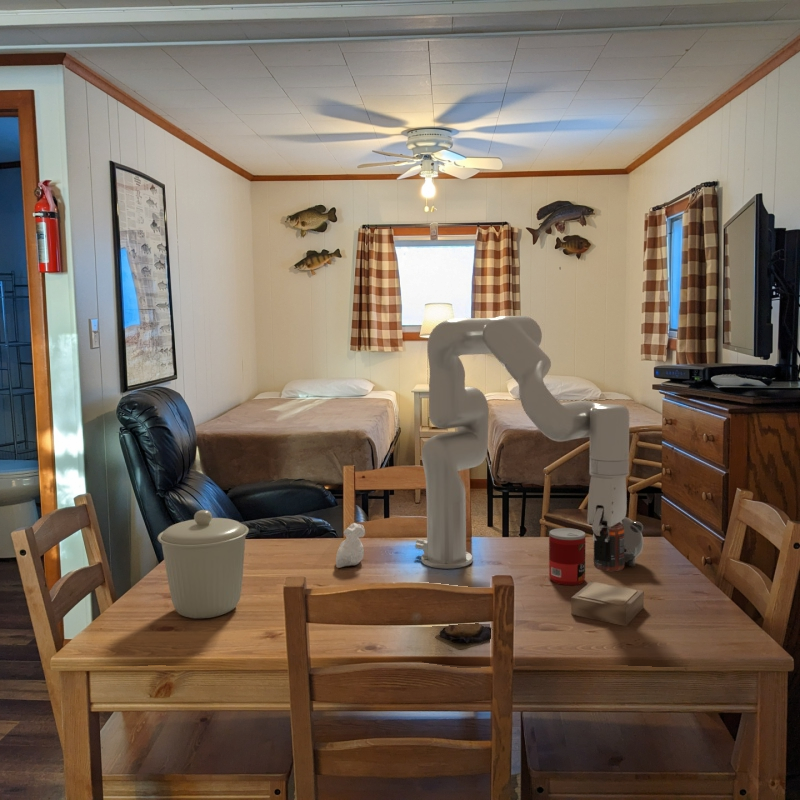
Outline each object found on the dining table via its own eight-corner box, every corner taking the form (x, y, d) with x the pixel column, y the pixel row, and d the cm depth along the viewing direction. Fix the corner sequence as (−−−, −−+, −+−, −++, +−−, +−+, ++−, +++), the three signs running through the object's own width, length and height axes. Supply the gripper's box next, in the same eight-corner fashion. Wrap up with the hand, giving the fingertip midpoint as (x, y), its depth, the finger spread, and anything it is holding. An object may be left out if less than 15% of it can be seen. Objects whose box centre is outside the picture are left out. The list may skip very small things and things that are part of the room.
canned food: (585, 586, 164) (586, 537, 163) (548, 584, 166) (549, 536, 165) (584, 575, 172) (584, 528, 171) (549, 573, 173) (549, 527, 172)
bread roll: (460, 655, 133) (460, 635, 133) (431, 639, 140) (430, 620, 139) (503, 638, 139) (503, 619, 139) (473, 624, 146) (472, 606, 146)
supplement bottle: (622, 563, 152) (622, 509, 150) (626, 573, 146) (626, 516, 145) (592, 562, 153) (592, 508, 151) (594, 572, 147) (594, 515, 146)
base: (571, 614, 149) (571, 596, 148) (591, 597, 158) (591, 580, 157) (626, 626, 143) (626, 607, 142) (643, 607, 151) (643, 590, 151)
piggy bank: (607, 575, 171) (608, 526, 170) (584, 555, 186) (585, 510, 185) (654, 572, 172) (655, 524, 171) (627, 553, 187) (628, 508, 186)
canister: (219, 632, 144) (214, 525, 141) (142, 620, 150) (137, 518, 148) (267, 599, 160) (263, 503, 158) (196, 590, 167) (192, 497, 164)
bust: (344, 581, 177) (371, 545, 175) (319, 560, 178) (346, 525, 176) (358, 564, 189) (383, 531, 186) (335, 545, 190) (360, 512, 187)
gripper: (605, 458, 156) (605, 542, 158) (574, 473, 142) (574, 564, 144) (641, 461, 152) (640, 547, 154) (612, 476, 138) (612, 571, 140)
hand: (608, 555), depth 149 cm, fingers closed on supplement bottle, 6 cm apart
